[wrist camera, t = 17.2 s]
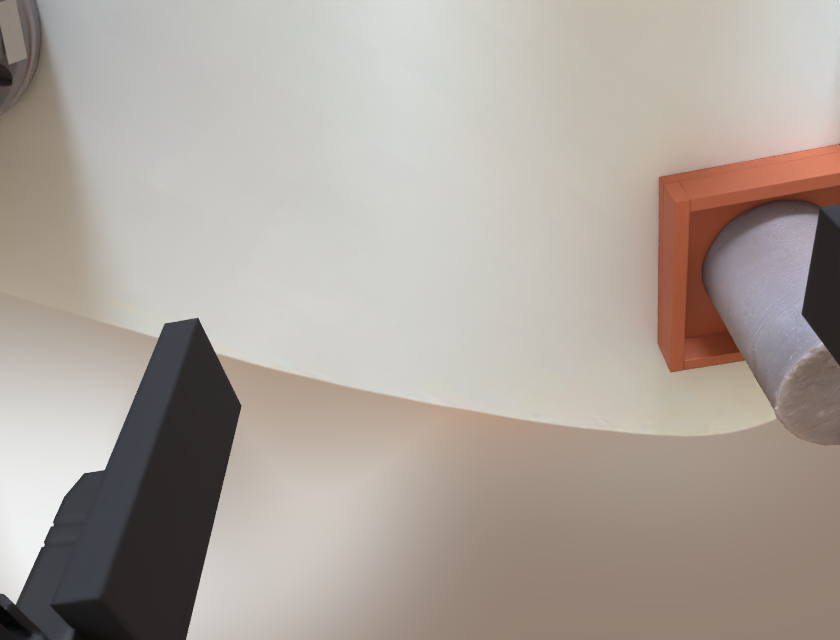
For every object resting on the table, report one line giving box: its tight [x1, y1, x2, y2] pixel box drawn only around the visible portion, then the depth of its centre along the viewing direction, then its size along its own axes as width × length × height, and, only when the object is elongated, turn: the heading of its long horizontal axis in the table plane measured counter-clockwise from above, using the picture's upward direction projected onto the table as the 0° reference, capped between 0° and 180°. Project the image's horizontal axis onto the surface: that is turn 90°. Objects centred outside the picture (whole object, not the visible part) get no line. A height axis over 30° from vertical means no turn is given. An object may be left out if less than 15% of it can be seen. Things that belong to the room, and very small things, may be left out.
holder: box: [658, 144, 840, 372], centre depth 51 cm, size 15×15×4 cm
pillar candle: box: [702, 200, 840, 445], centre depth 45 cm, size 10×10×15 cm
